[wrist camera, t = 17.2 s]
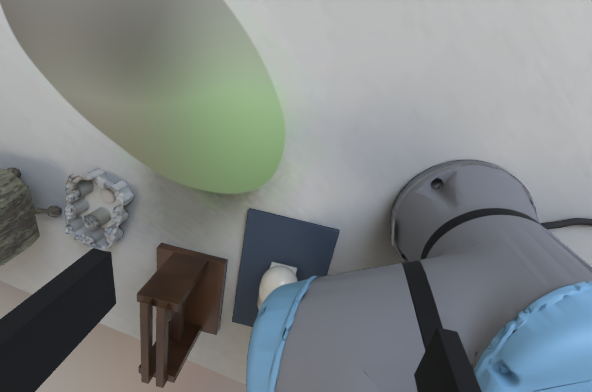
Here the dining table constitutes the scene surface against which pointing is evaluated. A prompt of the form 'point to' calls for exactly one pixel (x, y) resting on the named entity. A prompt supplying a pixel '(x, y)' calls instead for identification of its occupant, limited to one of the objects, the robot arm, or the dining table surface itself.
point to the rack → (178, 309)
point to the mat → (278, 255)
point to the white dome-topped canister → (275, 280)
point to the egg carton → (96, 209)
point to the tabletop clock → (17, 215)
